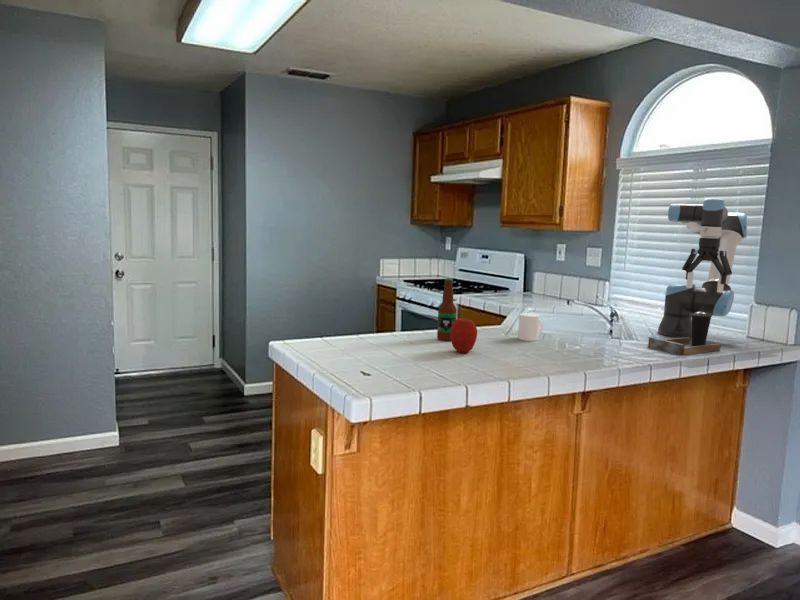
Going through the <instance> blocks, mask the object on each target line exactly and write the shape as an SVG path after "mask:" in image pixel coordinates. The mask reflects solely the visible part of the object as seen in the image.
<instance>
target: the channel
mask: <svg viewBox="0 0 800 600" xmlns="http://www.w3.org/2000/svg"><path fill="white" fill-rule="evenodd" d="M690 343H691V337H673V338H665V339H662V338H657V337H654V336H649V337H648V343H647V347H648V348H650V347H651V348H650V349H654V348H655V350H658V349H659V350H658V351H663V352H666V353H671V354H675V355H678V356H684V355H692V354H693V355H694V354H700V353H701V354H702V353H709V352H719V351H721V343H710V344H705V345H700V346H692V345H691V346H685V345H687V344H690Z"/></svg>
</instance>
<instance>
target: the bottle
mask: <svg viewBox="0 0 800 600" xmlns="http://www.w3.org/2000/svg"><path fill="white" fill-rule="evenodd" d="M453 280H454V279H453V278H448V277H447V278H445V279H444V283H443V284H444V287H443V288H444V289H443V291H442V292H443V293H442V302H441V303H440V304H439V307H438V309H437V312H438V313H437V331H436V332H437V333H436V334H437V335H436V337H437V339H438V341H440V340H441V341H442V342H451V339H450V329H451V326H452V324H453V322H454V321H456V320H457V307H456V305H455V303H454V288H453Z"/></svg>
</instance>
